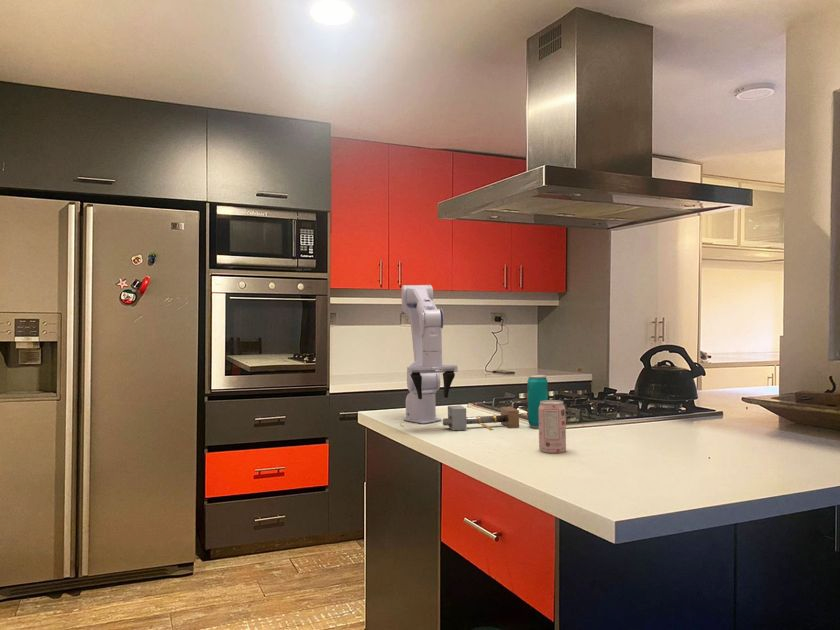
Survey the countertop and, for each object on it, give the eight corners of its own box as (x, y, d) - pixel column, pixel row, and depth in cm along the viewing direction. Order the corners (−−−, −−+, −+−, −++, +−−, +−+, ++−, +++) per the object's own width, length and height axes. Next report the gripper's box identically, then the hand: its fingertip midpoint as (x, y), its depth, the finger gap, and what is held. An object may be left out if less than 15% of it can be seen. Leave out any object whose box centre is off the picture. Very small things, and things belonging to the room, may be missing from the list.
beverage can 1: (547, 425, 189) (546, 374, 189) (549, 429, 183) (548, 376, 183) (527, 425, 190) (526, 374, 189) (529, 429, 184) (528, 377, 184)
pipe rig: (447, 432, 181) (447, 415, 181) (440, 426, 190) (440, 410, 190) (520, 428, 185) (520, 410, 185) (510, 422, 194) (509, 406, 194)
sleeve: (453, 430, 183) (452, 409, 183) (448, 426, 189) (447, 406, 189) (466, 429, 184) (466, 408, 184) (461, 425, 190) (460, 405, 190)
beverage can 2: (567, 448, 159) (566, 400, 159) (564, 454, 153) (563, 404, 152) (541, 447, 161) (540, 399, 161) (537, 452, 155) (536, 403, 155)
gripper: (410, 353, 179) (411, 401, 179) (460, 351, 182) (460, 398, 182) (405, 351, 186) (406, 397, 186) (453, 349, 189) (454, 395, 189)
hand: (432, 398), depth 185 cm, fingers open, 7 cm apart
